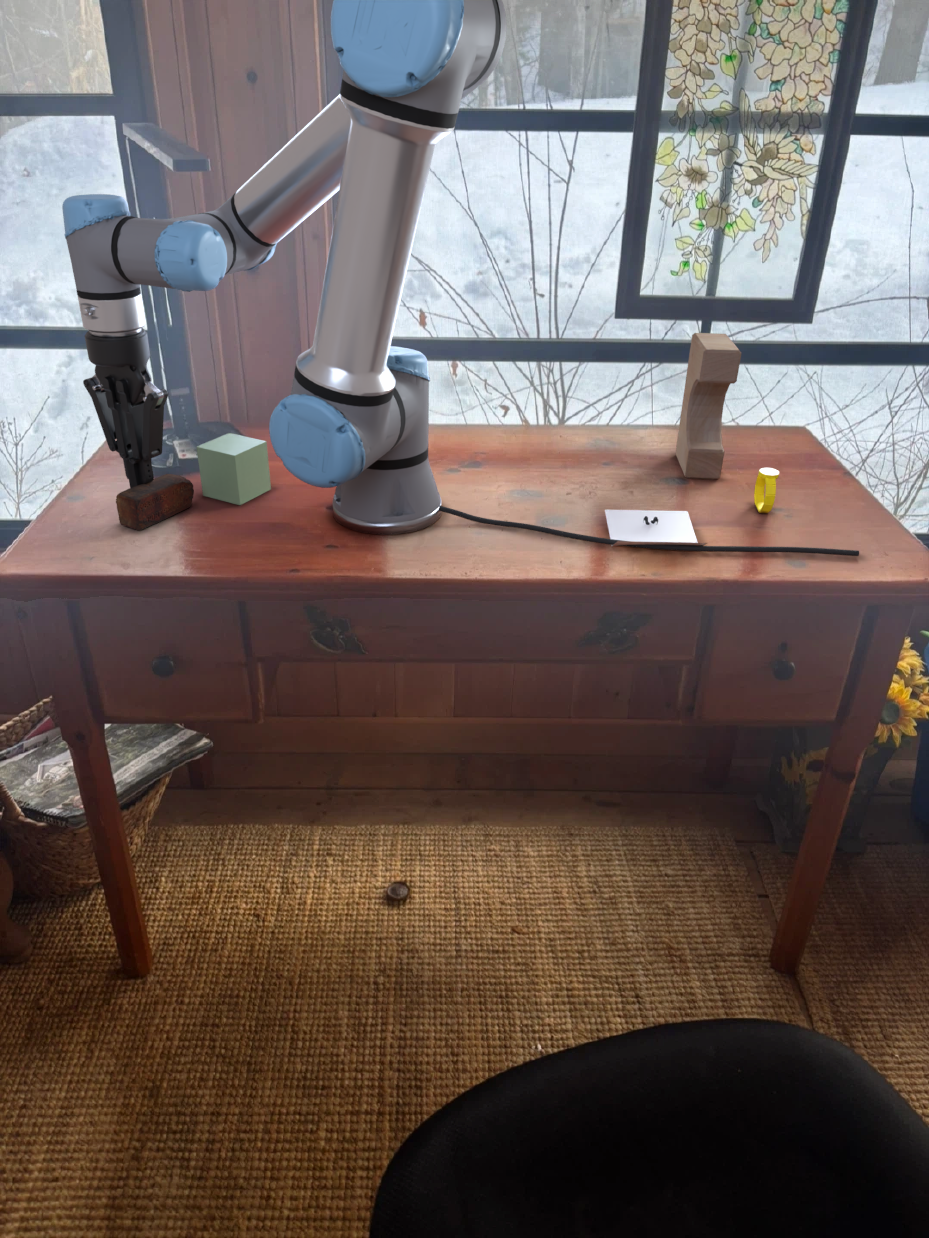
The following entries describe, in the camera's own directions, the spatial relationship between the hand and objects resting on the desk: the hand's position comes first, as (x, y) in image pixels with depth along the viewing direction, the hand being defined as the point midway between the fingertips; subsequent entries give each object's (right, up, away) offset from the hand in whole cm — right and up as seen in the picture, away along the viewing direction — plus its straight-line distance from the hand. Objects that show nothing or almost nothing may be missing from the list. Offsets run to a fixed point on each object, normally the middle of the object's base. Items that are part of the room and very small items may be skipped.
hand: (144, 502), depth 127 cm
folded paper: (+70, -5, -3) cm, 71 cm away
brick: (+2, -2, 0) cm, 3 cm away
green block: (+11, +2, +7) cm, 14 cm away
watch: (+88, 0, +6) cm, 88 cm away
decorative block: (+82, +8, +20) cm, 85 cm away
